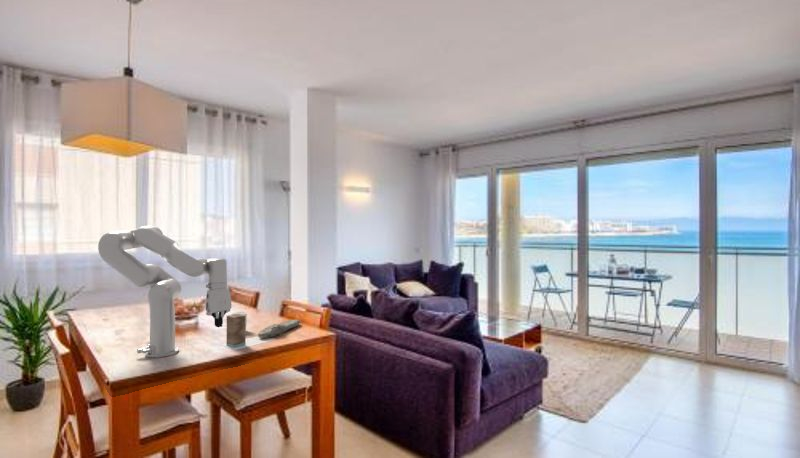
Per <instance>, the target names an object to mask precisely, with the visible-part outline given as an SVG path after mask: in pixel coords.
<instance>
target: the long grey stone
mask: <svg viewBox="0 0 800 458" xmlns="http://www.w3.org/2000/svg"><path fill="white" fill-rule="evenodd" d="M300 324H301V320H300V319H290V320H289V319H287V320H286V321H283V322H280V323H274V324H272V325H268V326H267V327H264V328H263V329H261V330H260V331H259V332H257V336H258V337H259V338H268V337H271V338H274V337H276V336H280V335H282V334H283V333H285V332H287V331H288V330H291V329H293V328H296V327H298V326H299V325H300Z"/></svg>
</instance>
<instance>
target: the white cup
mask: <svg viewBox="0 0 800 458" xmlns="http://www.w3.org/2000/svg"><path fill="white" fill-rule="evenodd" d="M233 314H242V315H246V326H247V324H248V312H245V311H238V312H237V311H236V312H232V313H231V314H230V315H233Z"/></svg>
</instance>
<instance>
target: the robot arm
mask: <svg viewBox="0 0 800 458" xmlns="http://www.w3.org/2000/svg"><path fill="white" fill-rule="evenodd" d="M97 247H98V248H97V250H98V254H99V256H100V258H101V259H102V260H103V261H104V262H105V263H106V264H107V265H108V266H109V267H111V268H113V270H115V271H116V272H118V273H119V274H120V275H121V276H123V277H124V278H125V279H126V280H128V281H129V282H130V283H131V284H133V285H134V286H136V287H138V288H145V287H146V288H147V287H150V288H149V290H148V293H147V300H148V305H149V306H148V308H149V343H147V346H145V347H141V348H137V349H136V353H137V354H145V356H146V357H147V358H153V357H156V358H163V357H164V356H165V357H169V356H173V355H176V354H178V353H179V350H180V348H179V347H178V346H176V345H175V344H176V343H175V342H176V311H175V303H174V300H175V299H177V297H179V296H180V295H181V292H182V285H181V283H180V281H178V280H177V279H176V278H175V277H173V276H172V275H171V274H170V273H168V271H166V270H164V269H163V268H162V267H161V266H159V265H157V264H154V263H147V264H145V263H143V262H142V261H140V260H139V259H137V258H136V257H135V256H134V255H132V254H130V253H128V252H127V250H132V249H138V248H145V249H147V250H148V251H150V252H152V253H154V254H155V255H157V256H158V257H160V258H162V259H164V260H165V261H166V262H167V263H168V264H169V265H171V267H173V268H174V269H176V270H178V271H180V272H181V273H184V275H187V276H189V277H193V278H197V277H200V276H204V275H207V274H208V284H206V285H205V288H206V289H207V290H206V295H205V311H206V312H205V316H212V318H213V319H214V326H215V328H222V327H223V324H224V321H223V320H224V317H225V315H226V314H227V313H229V312H230V311H231V309H232V298H231V297H232V295H231V291H230V288H229V287H228V273H227V271H228V269H227V268H228V267H227V262H228V261H227V259H225V258H222V257H219V258H207V257H206V258H205V257H199V258H195V257H193V256H190V255H189V254H188V253H185V251H183V250H182V249H181V248H180V246H179V243H178V242H177V241H175V240H174V239H172V238H170V237H168V236H166V235H165V234H163V231H162V230H161V229H160V228H159V227H157V226H155V225H154V226H153V225H146V226H145V225H144V226H143V225H142V226H141V227H138V228H135V229H129V230H116V231H115V230H113V231H108V232H106V233H105V234H103V235H102V236H101V237H100V239H99V240H98V245H97Z"/></svg>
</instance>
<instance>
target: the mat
mask: <svg viewBox="0 0 800 458" xmlns="http://www.w3.org/2000/svg"><path fill="white" fill-rule="evenodd" d="M276 340H277V338H274V337H268V338H259V337H258V335H257V336H253V337H249V338H245V343H246V345H244V346H240V347H236V348H232V347H229V346H226V343H223V344H221V346H223V347H226V348H228V349H231V350H234V351H236V350H240V349H245V348H249V347H252V346H256V345H259V344H264V343H267V342H271V341H272V342H273V341H276Z"/></svg>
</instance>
